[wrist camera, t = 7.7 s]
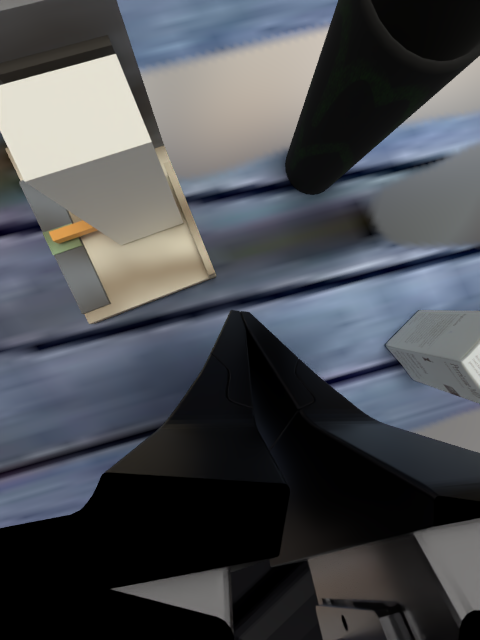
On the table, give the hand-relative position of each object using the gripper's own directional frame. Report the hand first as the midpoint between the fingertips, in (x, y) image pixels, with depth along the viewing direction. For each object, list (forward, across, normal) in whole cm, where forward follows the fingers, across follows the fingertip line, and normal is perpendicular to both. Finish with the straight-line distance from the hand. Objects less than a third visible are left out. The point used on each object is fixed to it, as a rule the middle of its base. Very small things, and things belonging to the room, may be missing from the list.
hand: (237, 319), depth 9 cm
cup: (+18, -8, -7) cm, 21 cm away
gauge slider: (+14, +9, 0) cm, 16 cm away
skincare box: (+7, -24, +6) cm, 26 cm away
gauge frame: (+15, +10, +1) cm, 18 cm away
